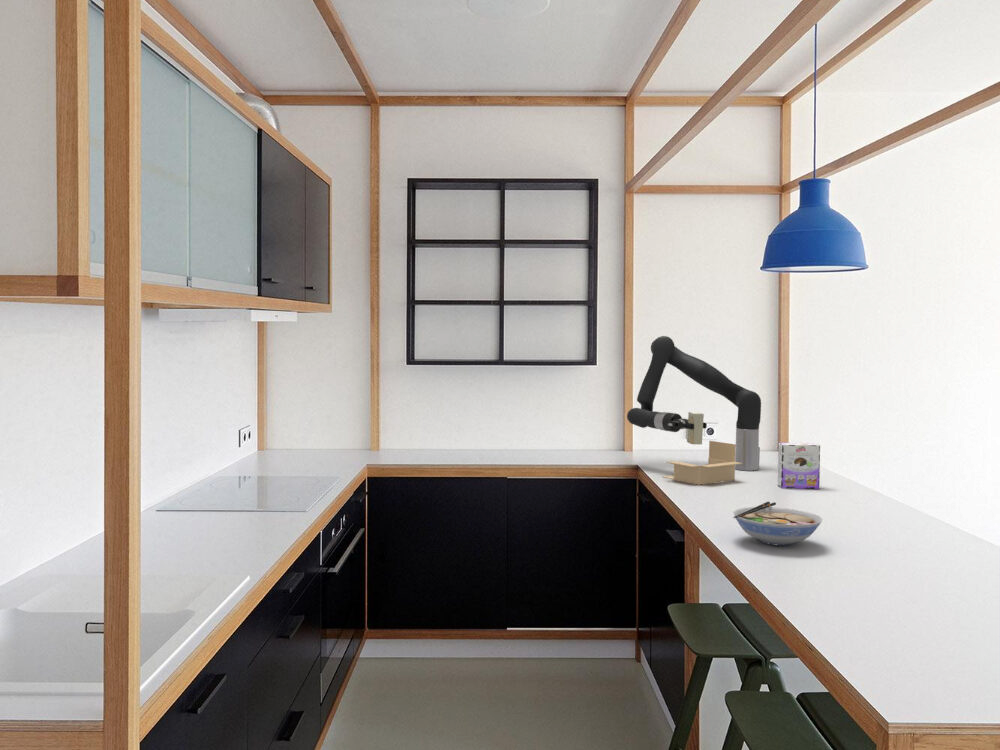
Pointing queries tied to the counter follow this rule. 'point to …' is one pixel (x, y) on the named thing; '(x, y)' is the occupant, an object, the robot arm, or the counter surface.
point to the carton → (708, 466)
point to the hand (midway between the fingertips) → (699, 426)
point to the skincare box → (695, 428)
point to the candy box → (799, 465)
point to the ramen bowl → (777, 523)
